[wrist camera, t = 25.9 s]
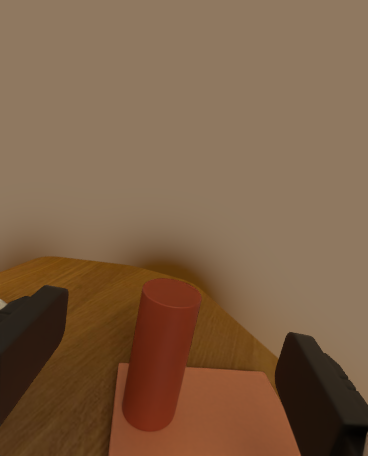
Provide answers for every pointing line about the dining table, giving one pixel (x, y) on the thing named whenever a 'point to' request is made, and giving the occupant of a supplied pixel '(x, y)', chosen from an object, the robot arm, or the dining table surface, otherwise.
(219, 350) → the dining table surface
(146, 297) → the rust pin
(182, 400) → the board
